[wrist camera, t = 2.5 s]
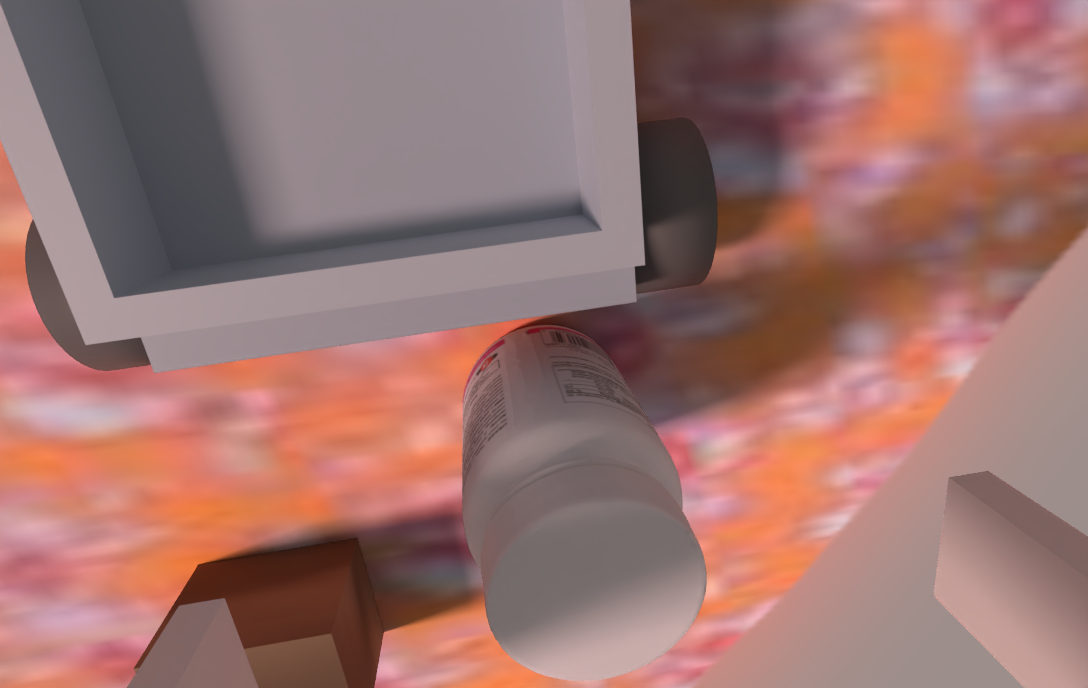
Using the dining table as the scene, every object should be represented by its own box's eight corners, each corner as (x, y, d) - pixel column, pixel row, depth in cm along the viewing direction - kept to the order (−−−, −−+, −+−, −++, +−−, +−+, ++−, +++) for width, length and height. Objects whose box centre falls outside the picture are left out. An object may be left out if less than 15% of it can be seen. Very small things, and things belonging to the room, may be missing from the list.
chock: (199, 562, 19) (133, 668, 15) (358, 535, 19) (330, 633, 16) (236, 656, 20) (184, 774, 17) (384, 629, 21) (365, 739, 17)
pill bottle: (503, 486, 19) (527, 736, 11) (435, 361, 18) (408, 554, 10) (640, 426, 19) (759, 638, 11) (585, 294, 17) (680, 436, 10)
